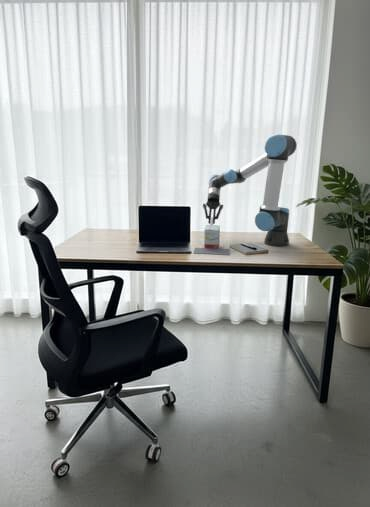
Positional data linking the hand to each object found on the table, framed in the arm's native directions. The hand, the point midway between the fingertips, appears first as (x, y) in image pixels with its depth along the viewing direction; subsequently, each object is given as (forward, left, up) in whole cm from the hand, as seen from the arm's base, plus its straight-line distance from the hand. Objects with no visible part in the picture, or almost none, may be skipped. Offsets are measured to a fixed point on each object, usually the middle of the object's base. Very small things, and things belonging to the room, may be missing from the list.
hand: (211, 227), depth 221 cm
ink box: (-1, +4, -10) cm, 11 cm away
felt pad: (-1, +15, -11) cm, 18 cm away
